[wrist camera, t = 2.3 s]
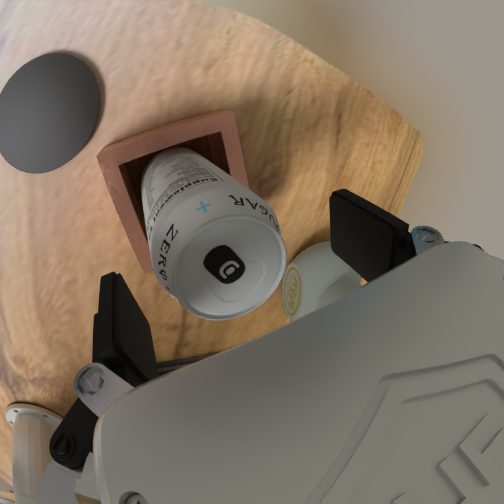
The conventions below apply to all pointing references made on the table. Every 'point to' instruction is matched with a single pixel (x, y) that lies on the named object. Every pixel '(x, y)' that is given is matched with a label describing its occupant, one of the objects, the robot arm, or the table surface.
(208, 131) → the collar
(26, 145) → the mat
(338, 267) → the air freshener
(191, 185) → the energy drink can
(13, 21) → the table surface
